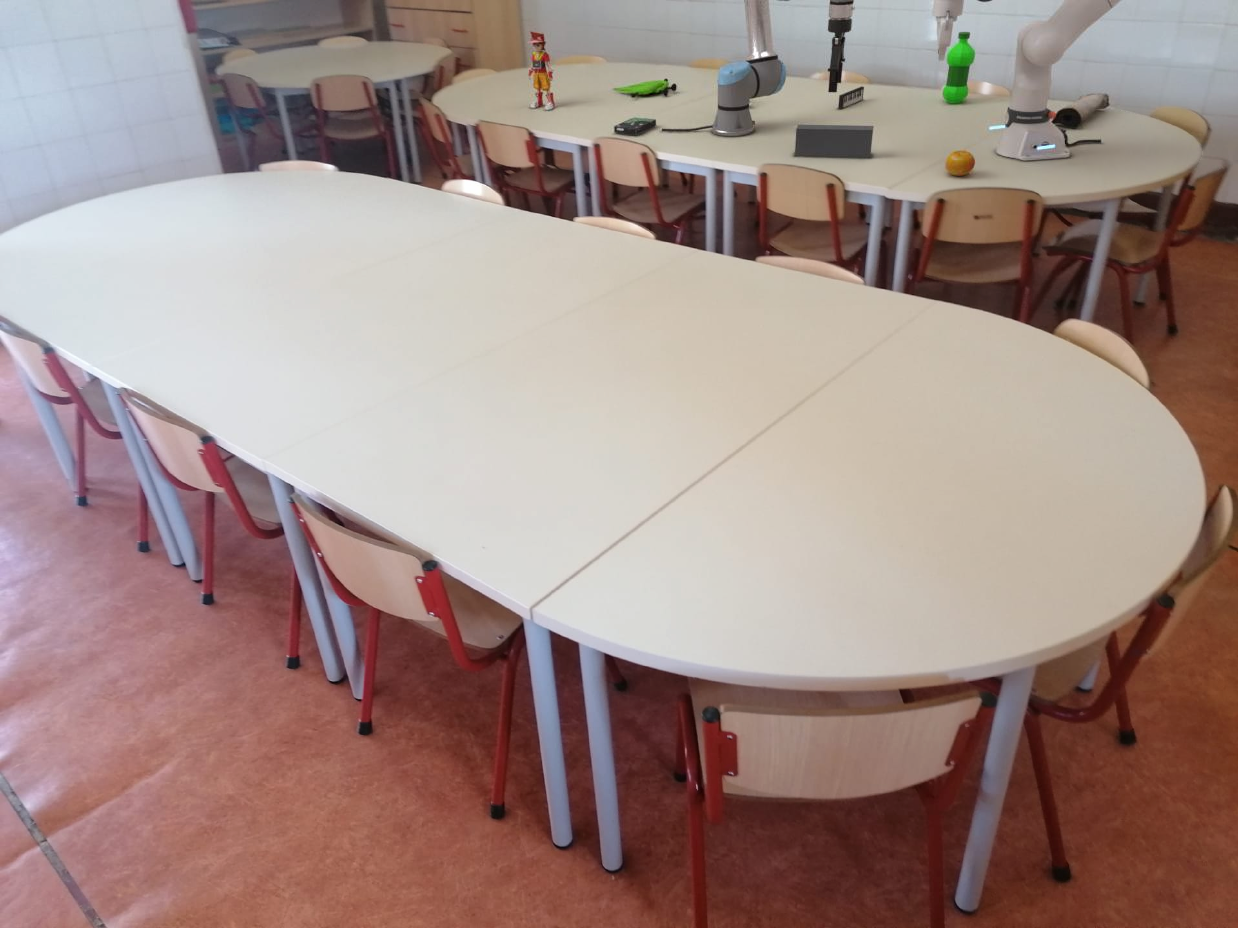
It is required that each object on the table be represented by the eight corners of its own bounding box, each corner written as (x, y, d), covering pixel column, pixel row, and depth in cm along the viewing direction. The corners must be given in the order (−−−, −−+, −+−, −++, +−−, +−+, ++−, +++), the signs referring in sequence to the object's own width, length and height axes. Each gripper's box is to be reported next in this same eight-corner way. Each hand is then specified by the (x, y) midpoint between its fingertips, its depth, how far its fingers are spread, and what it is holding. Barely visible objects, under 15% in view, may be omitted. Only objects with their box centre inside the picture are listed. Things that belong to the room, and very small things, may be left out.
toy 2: (686, 85, 398) (631, 84, 414) (685, 72, 395) (629, 72, 411) (651, 104, 381) (596, 103, 397) (650, 92, 378) (594, 91, 394)
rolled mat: (1076, 98, 337) (1101, 81, 329) (1090, 118, 338) (1115, 102, 330) (1045, 119, 320) (1071, 102, 312) (1060, 141, 321) (1085, 124, 312)
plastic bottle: (973, 101, 354) (984, 32, 339) (955, 106, 349) (966, 36, 335) (952, 97, 361) (962, 29, 346) (934, 102, 356) (944, 33, 342)
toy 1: (525, 109, 381) (517, 32, 364) (534, 104, 388) (527, 28, 371) (550, 110, 377) (543, 32, 360) (559, 105, 384) (553, 28, 367)
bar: (794, 156, 307) (796, 128, 301) (796, 152, 311) (797, 124, 306) (869, 158, 301) (872, 130, 295) (870, 154, 305) (873, 126, 299)
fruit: (939, 166, 278) (957, 142, 275) (940, 168, 286) (957, 145, 283) (962, 181, 277) (980, 158, 274) (962, 183, 285) (979, 160, 282)
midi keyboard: (840, 109, 355) (842, 95, 352) (838, 108, 355) (839, 95, 353) (863, 99, 365) (864, 86, 362) (860, 99, 366) (861, 86, 363)
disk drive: (637, 136, 338) (656, 126, 348) (636, 129, 336) (656, 118, 346) (613, 134, 342) (633, 123, 352) (613, 126, 341) (633, 116, 351)
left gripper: (848, 25, 280) (842, 96, 292) (855, 11, 299) (849, 79, 311) (824, 25, 282) (818, 96, 294) (832, 12, 301) (827, 79, 313)
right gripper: (959, 14, 267) (952, 64, 274) (957, 3, 283) (950, 50, 290) (937, 14, 268) (930, 64, 276) (936, 3, 284) (930, 51, 292)
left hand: (834, 87), depth 303 cm, fingers open, 13 cm apart
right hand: (940, 57), depth 283 cm, fingers open, 8 cm apart
